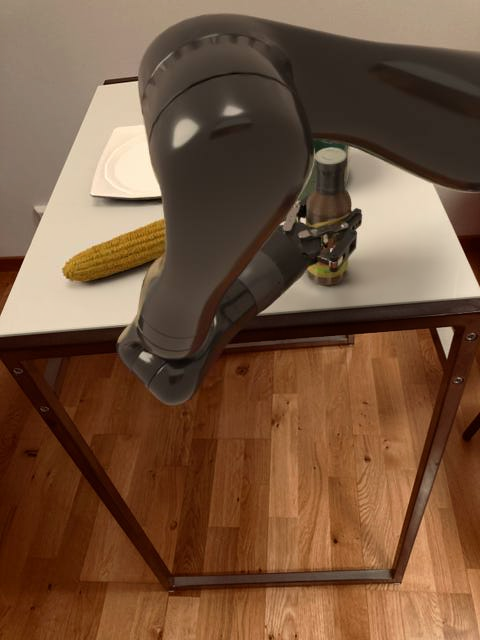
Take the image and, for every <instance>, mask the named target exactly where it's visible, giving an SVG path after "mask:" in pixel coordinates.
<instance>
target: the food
mask: <svg viewBox="0 0 480 640" xmlns="http://www.w3.org/2000/svg"><path fill="white" fill-rule="evenodd" d="M164 253H165V226H164V218H161V219H159V220H155V221H154V222H149V223H148V224H146V225H144V226H140V227H139V228H136V229H134V230H132V231H129V232H125V233H121V234H120V235H118V236H115V237H112V239H109V240H106V241H104V242H103V241H102V242H101V243H97V244H95V245H92V246H91V247H89V248H86V249H84V250H83V251H80V252H78V253H77V254H75V255H73V256H72V257H71V258H69V259H68V261H65V265H64V266H63V267H62V268H61V270H62V271H61V273H62V274H63V275H62V276H64V277H65V279H67V280H69V281H71V282H81V283H82V282H88V281H93V280H97V279H102V278H105V277H108V276H110V275H113V274H117V273H120V272H124V271H126V270H129V269H133V268H135V267H138V266H141V265H143V264H146V263H148V262H151V261H154V260H156V259H158V258H159V257H160V256H161V255H163V254H164Z"/></svg>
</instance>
